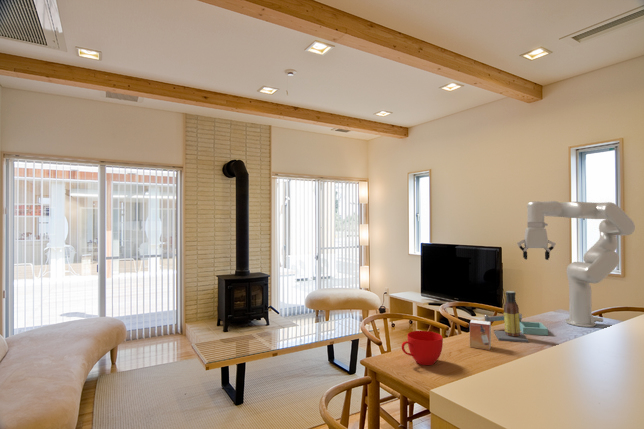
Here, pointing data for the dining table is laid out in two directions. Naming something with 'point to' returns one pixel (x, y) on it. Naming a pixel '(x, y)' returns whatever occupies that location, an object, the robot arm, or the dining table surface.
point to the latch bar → (497, 318)
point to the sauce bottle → (511, 315)
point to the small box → (480, 334)
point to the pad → (510, 337)
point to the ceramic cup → (424, 346)
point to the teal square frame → (533, 328)
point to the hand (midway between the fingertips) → (536, 259)
